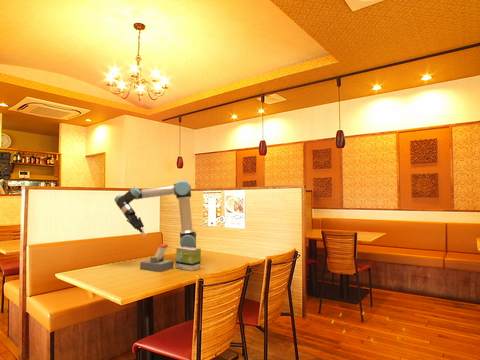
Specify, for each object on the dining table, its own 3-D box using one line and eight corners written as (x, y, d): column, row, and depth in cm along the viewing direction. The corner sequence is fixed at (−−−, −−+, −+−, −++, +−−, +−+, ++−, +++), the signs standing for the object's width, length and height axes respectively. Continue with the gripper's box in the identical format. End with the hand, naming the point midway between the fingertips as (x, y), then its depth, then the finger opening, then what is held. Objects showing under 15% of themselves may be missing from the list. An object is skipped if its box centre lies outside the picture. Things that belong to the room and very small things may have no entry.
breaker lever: (152, 260, 215) (160, 244, 213) (158, 258, 220) (165, 243, 218) (155, 262, 214) (162, 246, 212) (160, 260, 219) (168, 245, 217)
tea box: (175, 268, 218) (175, 247, 219) (184, 266, 227) (184, 246, 227) (192, 271, 211) (192, 249, 212) (200, 268, 220) (201, 247, 220)
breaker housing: (140, 269, 214) (140, 257, 214) (153, 265, 227) (153, 254, 227) (160, 272, 206) (161, 259, 207) (173, 268, 219) (173, 256, 220)
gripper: (131, 214, 239) (148, 237, 231) (119, 215, 227) (135, 239, 219) (137, 208, 237) (153, 230, 229) (124, 208, 225) (141, 232, 217)
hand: (145, 235), depth 224 cm, fingers closed
